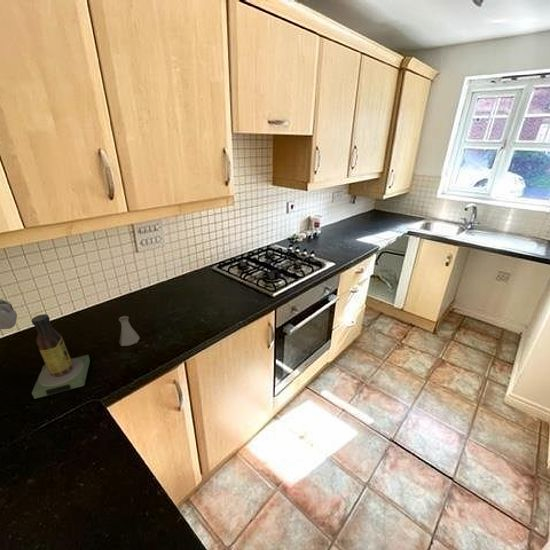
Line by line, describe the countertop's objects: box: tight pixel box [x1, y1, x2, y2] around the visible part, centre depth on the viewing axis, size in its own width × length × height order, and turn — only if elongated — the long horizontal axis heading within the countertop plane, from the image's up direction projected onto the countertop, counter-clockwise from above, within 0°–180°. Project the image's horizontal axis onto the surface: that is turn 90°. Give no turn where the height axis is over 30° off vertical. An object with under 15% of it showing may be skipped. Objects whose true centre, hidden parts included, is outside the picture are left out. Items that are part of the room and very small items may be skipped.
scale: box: [31, 354, 91, 400], centre depth 96 cm, size 13×14×3 cm
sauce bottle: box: [31, 313, 73, 377], centre depth 91 cm, size 6×6×20 cm
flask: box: [118, 315, 140, 347], centre depth 112 cm, size 7×7×10 cm
